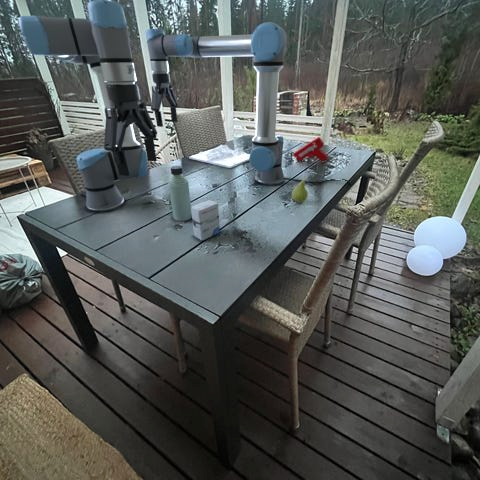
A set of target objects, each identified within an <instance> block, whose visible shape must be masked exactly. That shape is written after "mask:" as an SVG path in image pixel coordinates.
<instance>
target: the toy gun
mask: <svg viewBox="0 0 480 480" xmlns="http://www.w3.org/2000/svg"><path fill="white" fill-rule="evenodd" d="M324 145H325V143H324V141H323V140H322V138H321V137H320V136H317V137H316V138H314V139H313V140H311V141H310V142H308V143H306V144H305V145H303V146H302V147H301V148H299V149H298V150H296V151H295V152H294V153H293V156H294V158H295V160H296V162H301V161H302V160H304V159H306V158H309V160H310V159H314V158H317V159H318V160H319V161H321V162H320V163H321V164H324V162H322V161H325V160H326V162H328V158H329V155H328V154H327V153H325V152H324V151H323V150H322V148H323V147H324Z"/></svg>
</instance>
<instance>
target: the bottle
mask: <svg viewBox="0 0 480 480" xmlns="http://www.w3.org/2000/svg"><path fill="white" fill-rule="evenodd" d="M167 186H168V193H169V197H170V204H171V205H170V206H171V210H172V217H173V220H175V221H178V222H185V221H189V220H191V219H192V211H191V207H192V203H191V202H192V201H191V193H190V185H189V180H188V179H187V178H186V177H185V176H184V175H183V174H180V175H172V176H171V177H170V179H169V180H168V183H167Z"/></svg>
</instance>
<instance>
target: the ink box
mask: <svg viewBox="0 0 480 480" xmlns="http://www.w3.org/2000/svg"><path fill="white" fill-rule="evenodd" d="M191 211H192V218H191V220H192V227H193V235H194V237H195V238H197V239H199V240H200V241H206V240H208V239H209V238H211V237H214V236H215V235H217V234H219V233H220V232H221V225H220V212H219V203H218V202H216V201H213V200H212V199H208V200H206V201H203V202H200V203H198V204H195V205H191Z"/></svg>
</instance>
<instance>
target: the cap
mask: <svg viewBox="0 0 480 480" xmlns="http://www.w3.org/2000/svg"><path fill="white" fill-rule="evenodd" d="M170 174H171V175H172V176H173V175H180V174H181V175H183V166H181V165H173V166H171V167H170Z"/></svg>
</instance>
